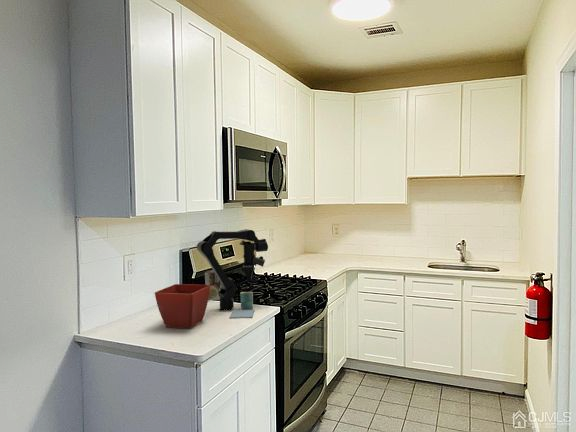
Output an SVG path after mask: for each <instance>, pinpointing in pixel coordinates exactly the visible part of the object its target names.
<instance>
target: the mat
mask: <svg viewBox="0 0 576 432" xmlns="http://www.w3.org/2000/svg"><path fill="white" fill-rule="evenodd" d="M254 313H255V309H253V310H241V309H232V310H231V313H230V315H229V319H253V316H254Z"/></svg>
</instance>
